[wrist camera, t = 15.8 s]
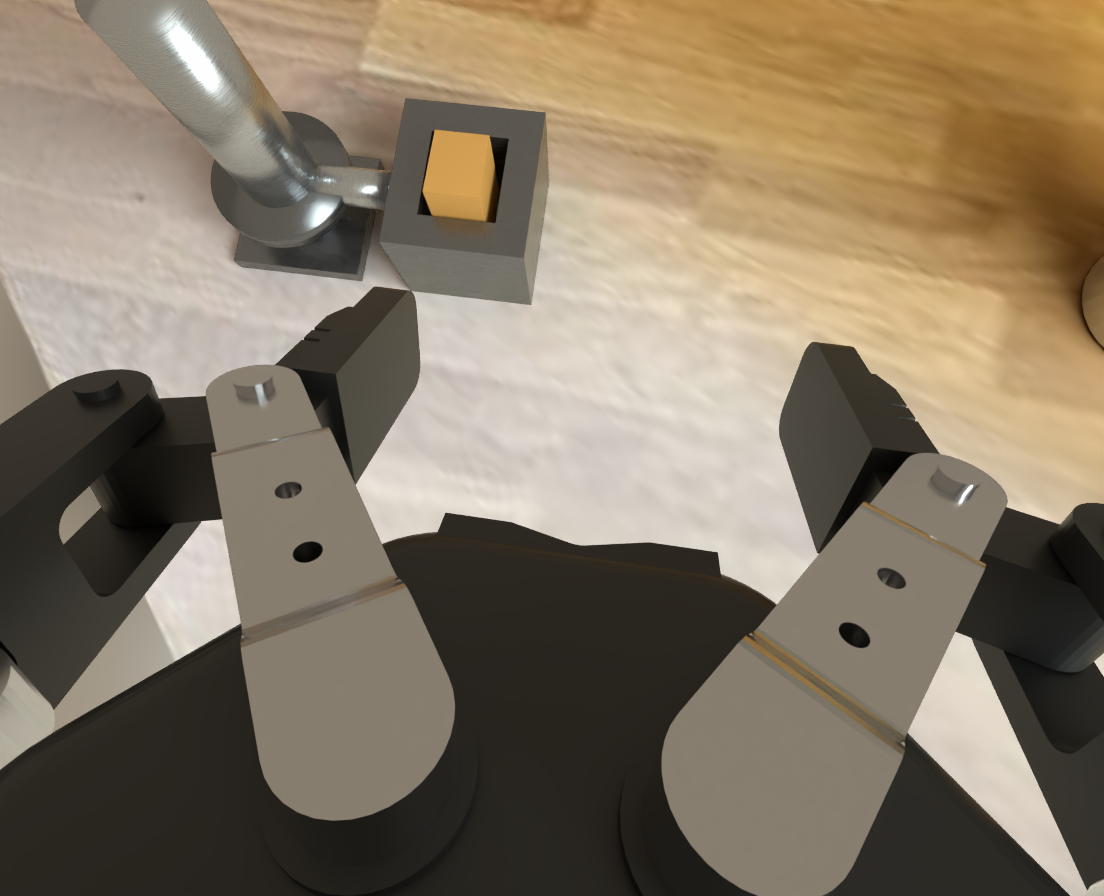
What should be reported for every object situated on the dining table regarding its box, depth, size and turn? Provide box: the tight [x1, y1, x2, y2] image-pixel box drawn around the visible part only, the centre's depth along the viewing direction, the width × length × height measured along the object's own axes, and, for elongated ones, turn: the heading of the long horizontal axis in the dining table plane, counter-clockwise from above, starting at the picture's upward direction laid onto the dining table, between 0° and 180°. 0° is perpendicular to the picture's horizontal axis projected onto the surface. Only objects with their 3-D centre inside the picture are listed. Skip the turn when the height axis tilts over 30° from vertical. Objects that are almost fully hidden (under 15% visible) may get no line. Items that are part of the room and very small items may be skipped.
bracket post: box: [74, 0, 549, 305], centre depth 33 cm, size 21×10×18 cm, turn 82°
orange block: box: [423, 130, 499, 223], centre depth 37 cm, size 3×4×8 cm
